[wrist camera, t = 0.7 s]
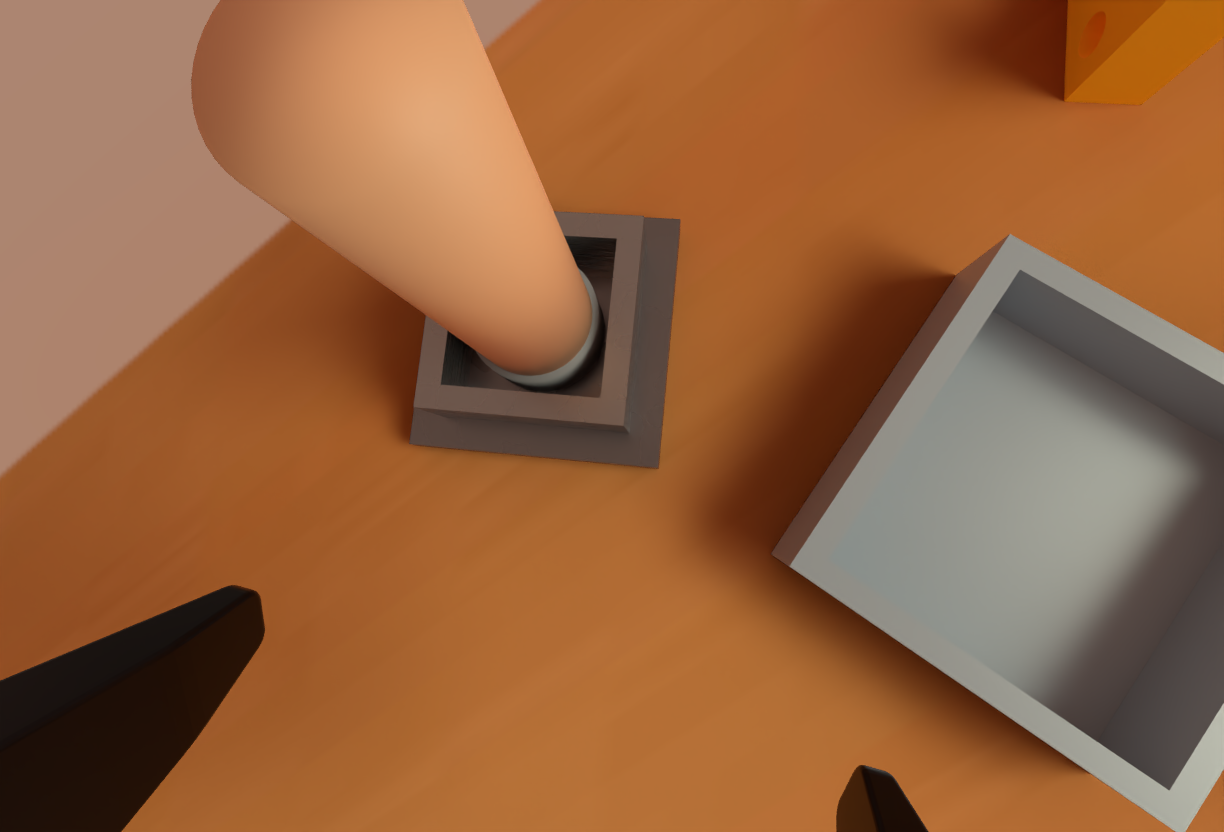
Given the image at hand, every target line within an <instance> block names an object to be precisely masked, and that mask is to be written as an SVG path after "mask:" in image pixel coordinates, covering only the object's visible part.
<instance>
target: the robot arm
mask: <svg viewBox="0 0 1224 832" xmlns="http://www.w3.org/2000/svg"><path fill="white" fill-rule="evenodd" d="M264 633H265V626H264V619H263V612H262V605H261V598H260V595H259V594H258V593H257V592H256V591H254V590H251V589H248V588H244V587H241V586H236V585H231V586H227V587H224V588H221V589H219V590H217V591H214V592H212V593H209V594H207V595H205V596H202V597H200V598H197V599H195V600H193V601H190V602H188V603H185V604H183V605H181V606H178V607H176V608H173V609H171V610H169V611H166V612H164V613H161V614H159V615H157V616H154V617H152V618H149V619H147V620H145V621H142V622H140V623H137V624H135V625H133V626H130V627H128V628H126V629H123V630H121V631H118V632H116V633H114V634H111V635H109V636H106V637H104V638H102V639H99V640H97V641H94V642H92V643H90V644H87V645H85V646H82V647H80V648H78V649H75V650H73V651H70V652H68V653H66V654H63V655H61V656H58V657H56V658H54V659H51V660H49V661H46V662H44V663H42V664H39V665H37V666H34V667H32V668H30V669H27V670H25V671H22V672H20V673H18V674H15V675H13V676H10V677H8V678H6V679H3V680H1V681H0V832H121V831H122V830H123V829H124V828H125V826H126V825H127V824H128V823H129V822H130V820H131V819H132V818H133V817H134V815H135V814H136V813H137V812H138V811H139V809H140V808H141V807H142V806H143V804H144V803H145V802H146V801H147V799H148V798H149V797H150V796H151V795H152V793H153V792H154V791H155V790H156V788H157V787H158V786H159V785H160V783H161V782H162V781H163V780H164V779H165V777H166V776H167V775H168V774H169V772H170V771H171V770H172V769H173V768H174V766H175V765H176V764H177V763H178V761H179V760H180V759H181V758H182V756H183V755H184V754H185V753H186V751H187V750H188V749H189V748H190V746H191V745H192V744H193V742H194V741H195V740H196V738H197V737H198V736H199V734H200V733H201V732H202V730H203V729H204V727H205V726H206V725H207V723H208V722H209V720H210V719H211V717H212V716H213V714H214V713H215V711H216V710H217V708H218V707H219V705H220V704H221V702H222V701H223V699H224V698H225V697H226V695H227V694H228V692H229V691H230V689H231V688H232V686H233V685H234V683H235V682H236V680H237V679H238V677H239V676H240V674H241V673H242V671H243V670H244V668H245V667H246V666H247V664H248V663H249V661H250V660H251V658H252V657H253V655H254V654H255V652H256V651H257V649H258V648H259V646H260V644H261V642H262V640H263V637H264ZM836 832H928V830H927V829H926V827H925V826H924V824H923V823H922V821H921V819H920V818H919V816H918V815H917V813H916V811H915V810H914V808H913V807H912V805H911V804H910V802H909V800H908V799H907V797H906V796H905V794H904V792H903V791H902V789H901V788H900V786H899V785H898V783H897V781H896V780H895V779H894V777H893V776H892V775H891V774H889V773H888V772H886V771H883V770H879V769H876V768H872V767H869V766H865V765H860V766H858V767H857V768H856V769H855V771H854V772H853V774H852V776H851V778H850V780H849V782H848V784H847V786H846V788H845V790H844V792H843V794H842V796H841V798H840V800H839V803H838V808H837V816H836Z"/></svg>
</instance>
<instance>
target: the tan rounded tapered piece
mask: <svg viewBox="0 0 1224 832" xmlns="http://www.w3.org/2000/svg"><path fill="white" fill-rule="evenodd" d="M191 81H192V83H191V84H192V102H193V109H194V115H195V118H196V122H197V125H198V129H199V131H200V133H201V135H202V138H203V140H204V142H205V144H206V146H207V148H208V149H209V151H210V152H211V154H212V155H213V157H214V158H215V160H216V161H217V162H218V163H219V164H220V165H221V167H222V168H223V169H224V170H225V171H226V172H227V173H228V174H229V175H231V176H232V177H233V178H234V179H235V180H237V181H238V182H239V183H240V184H242V185H243V186H244V187H246V188H248V189H249V190H250V191H252V192H253V193H254V194H256V195H257V196H259V197H260V198H261V199H263V200H264V201H266V202H267V203H268V204H270V205H271V206H273V207H274V208H276V209H277V210H278V211H280V212H281V213H283V214H284V215H285V216H287V217H288V218H290V219H291V220H292V221H294V222H295V223H297V224H298V225H299V226H301V227H302V228H304V229H305V230H307V231H308V232H309V233H311V234H312V235H314V236H315V237H316V238H318V239H319V240H321V241H322V242H323V243H325V244H326V245H328V246H329V247H331V248H332V249H333V250H335V251H336V252H338V253H339V254H340V255H342V256H343V257H345V258H346V259H347V260H349V261H350V262H352V263H353V264H355V265H356V266H357V267H359V268H360V269H362V270H363V271H364V272H366V273H367V274H369V275H370V276H371V277H373V278H374V279H376V280H377V281H378V282H380V283H381V284H383V285H384V286H386V287H387V288H388V289H390V290H391V291H393V292H394V293H395V294H397V295H398V296H400V297H401V298H402V299H404V300H405V301H407V302H408V303H410V304H411V305H412V306H414V307H415V308H417V309H418V310H419V311H421V312H422V313H424V314H425V315H426V316H428V317H429V318H431V319H432V320H433V321H435V322H436V323H438V324H439V325H441V326H442V327H443V328H445V329H446V330H448V331H449V332H450V333H452V334H453V335H455V336H456V337H457V338H459V339H460V340H462V341H463V342H465V343H466V344H467V345H469V346H470V347H472V348H473V349H474V350H475V351H476V352H477V354H478V355H479V357H480V358H481V359H482V360H483V362H484V363H485V364H486V365H487V366H489V367H490V368H491V369H492V370H493V371H495V372H496V373H498V374H499V375H501V376H502V377H504V378H505V379H507V380H508V381H510V382H512V383H513V384H515V385H517V386H519V387H521V388H524V389H527V390H531V391H538V392H547V391H555V390H559V389H562V388H565V387H568V386H570V385H572V384H574V383H575V382H577V381H578V380H580V379H581V378H582V377H584V376H585V375H586V374H587V373H588V372H589V371H590V369H591V368H592V367H593V366H594V364H595V363H596V361H597V360H598V358H599V355H600V353H601V351H602V348H603V344H604V339H605V320H604V316H603V312H602V310H601V307H600V304H599V302H598V299H597V297H596V294H595V292H594V289H593V287H592V285H591V283H590V281H589V280H588V278H587V277H586V276H585V274H584V273H583V272H582V271H581V270H580V269H579V268H578V267H577V265H576V263H575V260H574V258H573V256H572V253H571V251H570V249H569V246H568V244H567V242H566V239H565V237H564V235H563V232H562V230H561V228H560V225H559V223H558V221H557V218H556V216H555V214H554V211H553V209H552V207H551V204H550V202H549V200H548V197H547V195H546V193H545V190H544V188H543V186H542V183H541V181H540V179H539V176H538V174H537V172H536V169H535V167H534V165H533V162H532V160H531V158H530V155H529V153H528V151H527V148H526V146H525V144H524V141H523V139H522V137H521V134H520V132H519V130H518V127H517V125H516V123H515V120H514V118H513V116H512V113H511V111H510V109H509V106H508V104H507V102H506V99H505V97H504V95H503V92H502V90H501V88H500V85H499V83H498V81H497V78H496V76H495V74H494V71H493V69H492V67H491V64H490V62H489V60H488V57H487V55H486V53H485V50H484V48H483V46H482V43H481V41H480V39H479V36H478V34H477V32H476V29H475V27H474V25H473V22H472V20H471V18H470V15H469V13H468V11H467V8H466V6H465V4H464V1H463V0H220V2H219V3H218V5H217V6H216V8H215V9H214V11H213V12H212V14H211V16H210V18H209V20H208V22H207V24H206V25H205V27H204V30H203V33H202V35H201V38H200V40H199V43H198V46H197V50H196V54H195V58H194V63H193V72H192V79H191Z"/></svg>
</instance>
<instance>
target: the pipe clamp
mask: <svg viewBox="0 0 1224 832" xmlns="http://www.w3.org/2000/svg"><path fill="white" fill-rule="evenodd" d="M1223 37H1224V0H1068V13H1067V39H1066V65H1065V91H1064V102H1086V103H1108V104H1131V105H1141V104H1143V103H1144V102H1145V101H1146V100H1148V99H1149V98H1150V97H1151V96H1152V95H1154V94H1155V93H1156V92H1157V91H1159V90H1160V89H1161V88H1162V87H1164V86H1165V85H1166V84H1167V83H1168V82H1170V81H1171V80H1172V79H1173V78H1175V77H1176V76H1177V75H1178V74H1179V73H1181V72H1182V71H1183V70H1184V69H1186V68H1187V67H1188V66H1189V65H1190V64H1192V63H1193V62H1194V61H1195V60H1197V59H1198V58H1199V57H1200V56H1201V55H1203V54H1204V53H1205V52H1206V51H1208V50H1209V49H1210V48H1211V47H1212V46H1214V45H1215V44H1216V43H1217V42H1219V41H1220V40H1221V39H1222V38H1223Z"/></svg>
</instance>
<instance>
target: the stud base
mask: <svg viewBox="0 0 1224 832" xmlns="http://www.w3.org/2000/svg"><path fill="white" fill-rule="evenodd" d="M554 214H555V216H556V218H557V221H558V223H559V225H560V228H561V230H562V232H563V235H564V237H565V239H566V242H567V244H568V246H569V249H570V251H571V253H572V256H573V258H574V260H575V263H576V265H577V267H578V268H579V269H580V270H581V271H582V272H583V273H584V274H585V276H586V277H587V278H588V280H589V281H590V283H591V285H592V287H593V289H594V292H595V294H596V297H597V299H598V302H599V304H600V307H601V310H602V312H603V316H604V320H605V339H604V344H603V348H602V351H601V353H600V355H599V358H598V360H597V361H596V363H595V364H594V366H593V367H592V368H591V369H590V371H589V372H588V373H587V374H586V375H585V376H584V377H582V378H581V379H580V380H578V381H577V382H575V383H574V384H572V385H570V386H568V387H565V388H562V389H559V390H555V391H547V392H538V391H531V390H527V389H524V388H521V387H519V386H517V385H515V384H513V383H512V382H510V381H508V380H507V379H505V378H504V377H502V376H501V375H499V374H498V373H496V372H495V371H493V370H492V369H491V368H490V367H489V366H487V365H486V364H485V363H484V362H483V360H482V359H481V358H480V357H479V355H478V354H477V352H476V351H475V350H474V349H473V348H472V347H470V346H469V345H467V344H466V343H465V342H463V341H462V340H460V339H459V338H457V337H456V336H455V335H453V334H452V333H450V332H449V331H448V330H446V329H445V328H443V327H442V326H441V325H439V324H438V323H436V322H435V321H433V320H432V319H431V318H429V317H428V316H426V318H425V326H424V333H423V340H422V348H421V355H420V362H419V369H418V377H417V384H416V391H415V399H414V406H413V407H414V413H413V421H412V428H411V435H410V443H409V444H413V445H418V446H427V447H437V448H447V449H458V450H468V451H479V452H489V453H499V454H510V455H520V456H531V457H541V458H552V459H562V460H572V461H583V462H593V463H604V464H614V465H624V466H635V467H645V468H656V469H659V459H660V447H661V436H662V425H663V414H664V403H665V392H666V381H667V370H668V359H669V348H670V337H671V326H672V315H673V303H674V292H675V281H676V270H677V259H678V248H679V237H680V219H664V218H644V216H633V215H614V214H594V213H574V212H554Z"/></svg>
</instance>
